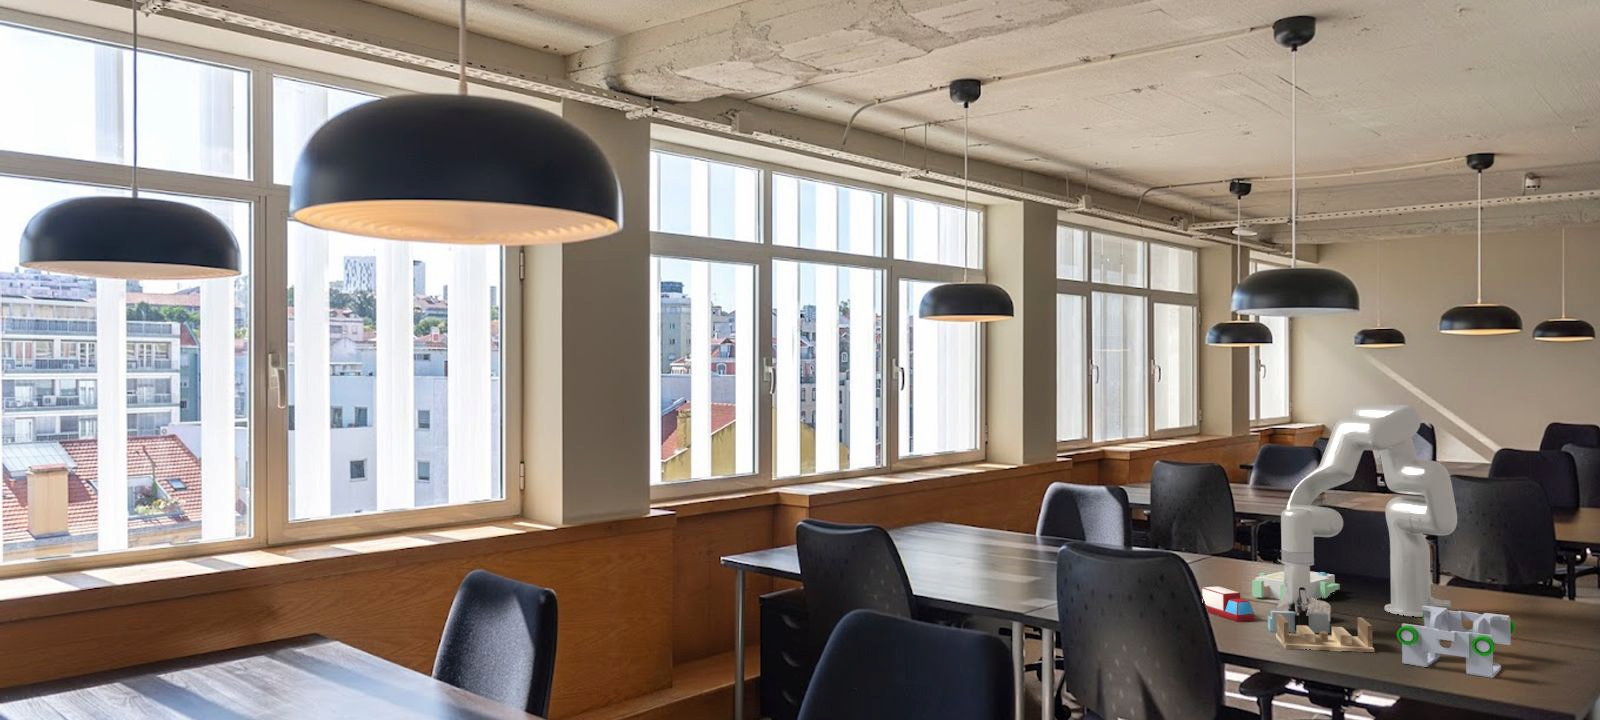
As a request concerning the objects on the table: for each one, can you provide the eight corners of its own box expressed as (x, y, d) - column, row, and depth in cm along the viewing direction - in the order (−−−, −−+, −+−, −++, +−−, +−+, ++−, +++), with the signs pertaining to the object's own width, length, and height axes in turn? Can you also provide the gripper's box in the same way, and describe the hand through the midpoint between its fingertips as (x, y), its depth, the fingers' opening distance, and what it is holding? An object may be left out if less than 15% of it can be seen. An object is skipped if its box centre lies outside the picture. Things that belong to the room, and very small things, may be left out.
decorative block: (1283, 565, 340) (1348, 574, 324) (1284, 586, 340) (1349, 596, 324) (1238, 575, 324) (1304, 585, 308) (1238, 597, 324) (1304, 608, 308)
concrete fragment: (1324, 625, 287) (1324, 602, 287) (1274, 616, 298) (1273, 593, 298) (1338, 621, 291) (1338, 598, 291) (1288, 612, 302) (1287, 590, 302)
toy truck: (1237, 623, 291) (1236, 598, 291) (1202, 611, 305) (1201, 587, 306) (1254, 621, 293) (1254, 596, 293) (1219, 609, 307) (1218, 586, 307)
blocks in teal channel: (1326, 630, 281) (1326, 611, 281) (1330, 634, 277) (1329, 614, 277) (1267, 628, 284) (1267, 608, 284) (1270, 631, 280) (1270, 612, 280)
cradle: (1360, 640, 270) (1360, 616, 270) (1374, 653, 258) (1373, 627, 258) (1276, 637, 275) (1275, 613, 275) (1285, 648, 263) (1285, 623, 263)
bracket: (1515, 657, 253) (1514, 614, 254) (1494, 681, 235) (1493, 634, 235) (1424, 644, 266) (1423, 603, 266) (1397, 666, 247) (1396, 621, 247)
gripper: (1275, 551, 290) (1276, 619, 290) (1288, 563, 273) (1289, 635, 273) (1306, 552, 288) (1307, 620, 288) (1321, 564, 271) (1322, 636, 271)
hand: (1298, 627), depth 280 cm, fingers open, 6 cm apart
